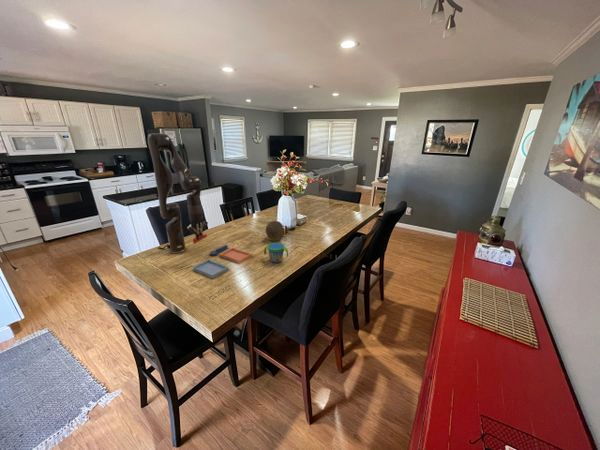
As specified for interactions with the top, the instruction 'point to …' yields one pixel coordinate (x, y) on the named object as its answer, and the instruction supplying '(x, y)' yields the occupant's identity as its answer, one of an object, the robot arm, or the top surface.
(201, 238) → the red spoon
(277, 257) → the snack cup
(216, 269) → the blue tray
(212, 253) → the blue spoon
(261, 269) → the top surface
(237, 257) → the red tray
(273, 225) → the brown ball
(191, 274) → the top surface
